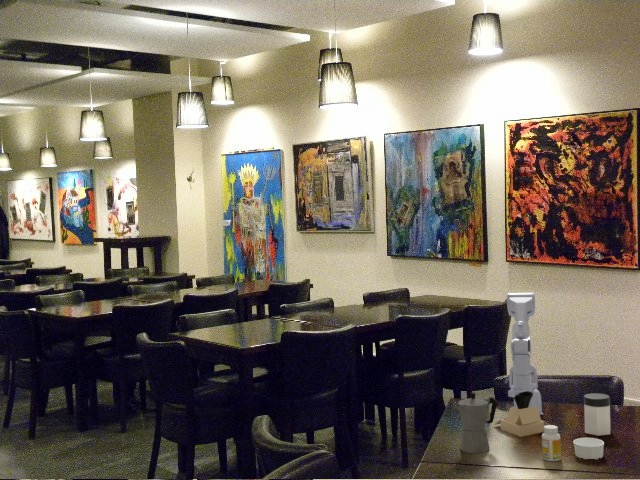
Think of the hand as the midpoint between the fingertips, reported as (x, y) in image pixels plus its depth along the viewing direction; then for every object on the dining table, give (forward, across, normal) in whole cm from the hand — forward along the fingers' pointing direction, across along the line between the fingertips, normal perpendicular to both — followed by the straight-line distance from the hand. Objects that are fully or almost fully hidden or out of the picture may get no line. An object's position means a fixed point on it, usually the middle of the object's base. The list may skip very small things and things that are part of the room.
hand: (523, 414), depth 271 cm
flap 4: (+2, -4, +1) cm, 5 cm away
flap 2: (+2, +5, -2) cm, 6 cm away
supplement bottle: (+6, +20, +22) cm, 30 cm away
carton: (+6, +1, 0) cm, 6 cm away
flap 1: (+2, -1, -5) cm, 5 cm away
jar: (+6, -13, +20) cm, 24 cm away
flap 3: (+2, +2, +4) cm, 5 cm away
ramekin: (+6, +11, +29) cm, 32 cm away
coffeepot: (+6, +26, -1) cm, 26 cm away
